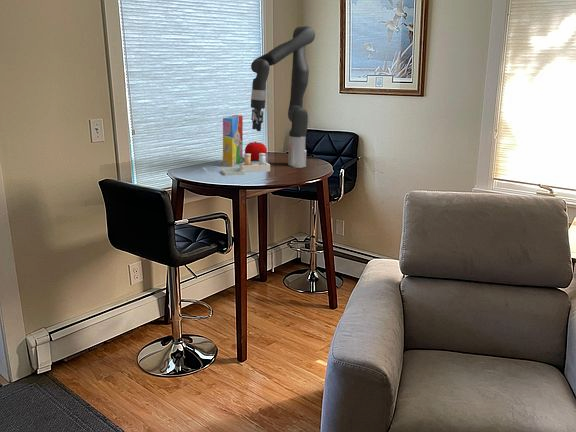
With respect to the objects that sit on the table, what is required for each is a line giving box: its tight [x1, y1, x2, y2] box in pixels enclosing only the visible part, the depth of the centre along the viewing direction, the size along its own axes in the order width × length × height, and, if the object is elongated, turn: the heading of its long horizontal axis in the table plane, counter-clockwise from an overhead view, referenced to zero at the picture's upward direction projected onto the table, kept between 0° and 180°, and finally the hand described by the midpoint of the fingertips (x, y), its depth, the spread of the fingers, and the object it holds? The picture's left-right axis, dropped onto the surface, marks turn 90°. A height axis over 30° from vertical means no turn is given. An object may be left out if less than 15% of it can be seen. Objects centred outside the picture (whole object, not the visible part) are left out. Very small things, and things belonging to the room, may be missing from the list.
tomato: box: [244, 141, 268, 161], centre depth 323 cm, size 12×13×11 cm
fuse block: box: [239, 161, 271, 173], centre depth 287 cm, size 15×7×4 cm, turn 109°
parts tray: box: [220, 167, 245, 176], centre depth 280 cm, size 10×10×2 cm
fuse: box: [258, 153, 266, 165], centre depth 288 cm, size 3×3×9 cm
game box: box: [222, 114, 244, 168], centre depth 303 cm, size 21×6×27 cm, turn 168°
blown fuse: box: [244, 153, 252, 165], centre depth 285 cm, size 3×3×9 cm
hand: (256, 130), depth 286 cm, fingers open, 8 cm apart
